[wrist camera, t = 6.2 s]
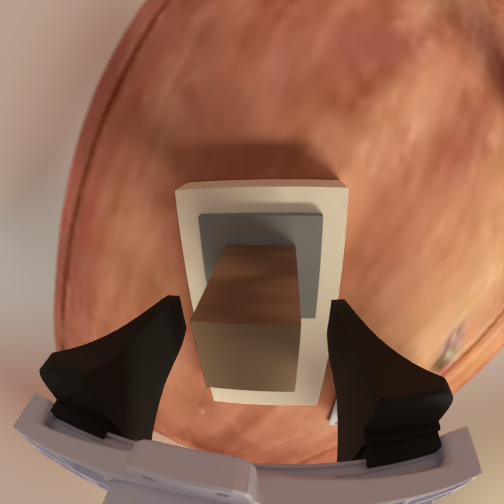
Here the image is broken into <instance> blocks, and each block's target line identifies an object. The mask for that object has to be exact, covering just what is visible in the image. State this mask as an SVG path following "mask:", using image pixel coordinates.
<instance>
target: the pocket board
mask: <svg viewBox="0 0 504 504" xmlns="http://www.w3.org/2000/svg"><path fill="white" fill-rule="evenodd" d="M348 191H349V188H348V187H347V186H346V185H345V184H344V183H343V182H342V181H340V180H322V179H250V180H222V181H202V182H188V183H186V184H185V185H183V186H181V187H180V188H178V189H176V190H175V197H176V206H177V214H178V221H179V228H180V235H181V242H182V249H183V255H184V261H185V267H186V273H187V279H188V285H189V290H190V296H191V301H192V306H193V311H195V309H196V307H197V305H198V303H199V301H200V298H201V296H202V294H203V292H204V290H205V288H206V286H207V283H206V276H205V269H204V261H203V254H202V246H201V237H200V229H199V220H198V216H199V215H200V214H207V213H322V214H323V231H322V248H321V263H320V276H319V287H318V298H317V308H316V317H315V318H304V319H302V318H301V335H300V347H299V357H298V367H297V377H296V386H295V392H269V391H248V390H234V389H223V388H213V387H211V391H212V395H213V398H214V401H221V402H231V403H243V404H259V405H318V401H319V396H320V392H321V388H322V384H323V379H324V375H325V370H326V365H327V360H328V355H329V354H328V345H327V327H328V321H329V314H330V307H331V300H338V296H339V289H340V281H341V273H342V265H343V256H344V246H345V235H346V223H347V209H348Z"/></svg>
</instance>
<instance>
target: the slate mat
mask: <svg viewBox="0 0 504 504" xmlns="http://www.w3.org/2000/svg"><path fill="white" fill-rule="evenodd" d="M198 220H199V229H200V237H201V246H202V254H203V261H204V269H205V276H206V283H208V281H209V279H210V277H211V275H212V273H213V271H214V269H215V267H216V264H217V262H218V260H219V258H220V256H221V254H222V252H223V250H224V248H225V246H226V245H295V246H296V257H297V269H298V282H299V296H300V311H301V318H302V319H304V318H315V317H316V308H317V298H318V287H319V276H320V263H321V248H322V231H323V214H322V213H207V214H200V215H199V216H198Z"/></svg>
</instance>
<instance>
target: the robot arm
mask: <svg viewBox="0 0 504 504" xmlns="http://www.w3.org/2000/svg"><path fill="white" fill-rule="evenodd" d="M186 329H187V328H186V324H185V319H184V315H183V310H182V306H181V301H180V296H171V295H168V296H166V297H165V298H163V299H162V300H160V301H159V302H158V303H156V304H155V305H153V306H152V307H151V308H149V309H148V310H147V311H145V312H144V313H142V314H141V315H140V316H138V317H137V318H135V319H134V320H132V321H131V322H129V323H128V324H126V325H125V326H123V327H121V328H120V329H118V330H116V331H114V332H112V333H110V334H108V335H106V336H104V337H102V338H100V339H97V340H95V341H93V342H90V343H88V344H85V345H82V346H79V347H76V348H72V349H68V350H64V351H59V352H54V353H52V354H51V355H50V356H49V358H48V359H47V360H46V362H45V363H44V364H43V366H42V367H41V368H40V375H41V378H42V380H43V381H44V383H45V384H46V386H47V387H48V388H49V390H50V391H51V392H52V394H53V395H54V396H55V398H56V399H57V401H56V402H55V404H54V403H53V402H51V401H50V400H48V399H46V398H45V397H42V396H41V395H39V394H37V393H35V394H34V396H33V397H32V398H31V400H30V401H29V403H28V404H27V406H26V407H25V409H24V410H23V412H22V413H21V415H20V416H19V418H18V420H17V421H16V423H15V424H14V428H15V429H16V430H17V431H18V432H19V433H20V434H21V435H22V436H23V437H24V438H25V439H26V440H27V441H28V442H29V443H30V444H32V445H33V446H34V447H35V448H36V449H37V450H39V451H40V452H41V453H42V454H43V455H45V456H47V457H48V458H50V459H51V460H53V461H54V462H56V463H58V464H59V465H61V466H63V467H64V468H66V469H68V470H69V471H71V472H73V473H74V474H76V475H78V476H80V477H82V478H83V479H85V480H87V481H89V482H91V483H93V484H95V485H97V486H99V487H101V488H103V489H105V490H107V494H106V496H105V499H104V502H103V504H434V500H437V499H439V498H442V497H444V496H447V495H449V494H451V493H453V492H454V491H456V490H458V489H459V488H461V487H462V486H464V485H465V484H467V483H469V482H470V481H471V480H473V479H475V478H476V477H477V476H479V475H480V474H481V468H480V464H479V461H478V457H477V454H476V451H475V448H474V445H473V441H472V439H471V436H470V433H469V430H468V427H463V428H461V429H458V430H455V431H452V432H449V433H447V434H444V435H442V436H441V437H440V438H439V434H438V431H439V430H440V424H439V420H440V419H441V418H442V416H443V415H444V414H445V412H446V411H447V410H448V408H449V407H450V405H451V404H452V401H453V395H452V393H451V390H450V388H449V385H448V383H447V381H446V379H445V378H444V377H442V376H439V375H437V374H434V373H432V372H430V371H427V370H425V369H423V368H421V367H419V366H418V365H416V364H414V363H412V362H411V361H409V360H407V359H406V358H404V357H403V356H401V355H400V354H398V353H397V352H395V351H394V350H393V349H391V348H390V347H389V346H388V345H387V344H385V343H384V342H383V341H382V340H381V339H379V338H378V337H377V336H376V335H375V334H374V333H373V332H372V331H371V330H370V329H369V328H368V327H367V325H366V324H365V323H364V322H363V321H362V320H361V319H360V318H359V316H358V315H357V314H356V313H355V312H354V311H353V309H352V308H351V307H350V306H349V304H348V303H347V302H346V301H345V300H344V299H339V300H331V307H330V314H329V321H328V327H327V345H328V354H329V359H330V364H331V369H332V374H333V379H334V384H335V390H336V402H335V405H334V408H333V411H332V413H331V416H330V419H329V424H330V425H338V452H337V462H336V463H322V464H260V463H250V462H249V461H247V460H244V459H242V458H239V457H236V456H231V455H226V454H220V453H213V452H206V451H200V450H194V449H189V448H184V447H179V446H174V445H170V444H165V443H161V442H157V441H152V433H153V428H154V423H155V418H156V414H157V410H158V406H159V402H160V398H161V395H162V392H163V388H164V385H165V382H166V380H167V377H168V375H169V373H170V371H171V369H172V366H173V364H174V362H175V360H176V357H177V355H178V353H179V351H180V348H181V346H182V343H183V340H184V336H185V332H186Z"/></svg>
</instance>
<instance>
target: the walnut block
mask: <svg viewBox="0 0 504 504" xmlns="http://www.w3.org/2000/svg"><path fill="white" fill-rule="evenodd" d="M190 323H191V327H192V332H193V336H194V340H195V345H196V349H197V353H198V357H199V361H200V365H201V369H202V373H203V376H204V380H205V384H206V387H213V388H223V389H234V390H248V391H269V392H295V386H296V377H297V367H298V357H299V347H300V335H301V311H300V296H299V282H298V269H297V257H296V246H295V245H226V246H225V248H224V250H223V252H222V254H221V256H220V258H219V260H218V262H217V264H216V267H215V269H214V271H213V273H212V275H211V277H210V279H209V281H208V283H207V286H206V288H205V290H204V292H203V294H202V296H201V298H200V301H199V303H198V305H197V307H196V309H195V311H194V314H193V316H192V318H191V320H190Z"/></svg>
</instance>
